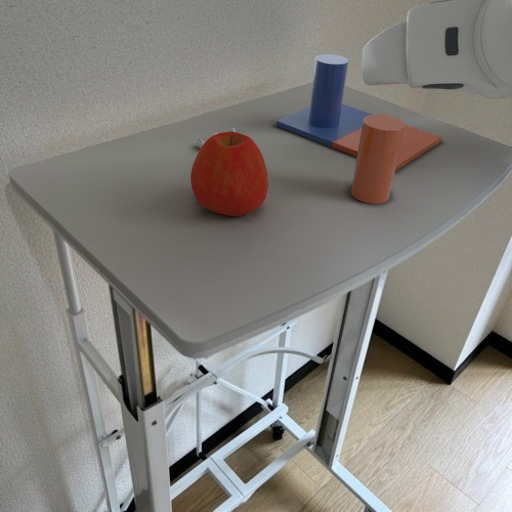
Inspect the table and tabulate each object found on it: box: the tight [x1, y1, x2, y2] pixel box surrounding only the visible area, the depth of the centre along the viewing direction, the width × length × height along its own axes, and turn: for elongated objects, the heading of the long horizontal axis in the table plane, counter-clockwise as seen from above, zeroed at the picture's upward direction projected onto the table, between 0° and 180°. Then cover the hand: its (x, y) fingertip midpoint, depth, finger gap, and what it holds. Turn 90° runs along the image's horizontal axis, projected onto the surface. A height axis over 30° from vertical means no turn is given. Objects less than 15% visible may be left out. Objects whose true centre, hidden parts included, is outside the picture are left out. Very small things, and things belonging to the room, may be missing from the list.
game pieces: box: [196, 127, 237, 150], centre depth 90 cm, size 8×2×2 cm, turn 129°
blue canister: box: [309, 53, 349, 128], centre depth 95 cm, size 6×6×11 cm
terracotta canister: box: [350, 113, 406, 205], centre depth 77 cm, size 6×6×11 cm
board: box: [276, 103, 442, 172], centre depth 97 cm, size 24×16×1 cm, turn 49°
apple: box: [189, 130, 269, 217], centre depth 72 cm, size 10×10×10 cm
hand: (433, 71), depth 60 cm, fingers open, 8 cm apart
